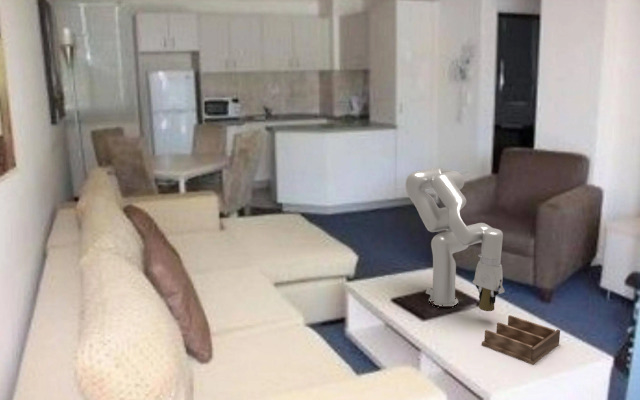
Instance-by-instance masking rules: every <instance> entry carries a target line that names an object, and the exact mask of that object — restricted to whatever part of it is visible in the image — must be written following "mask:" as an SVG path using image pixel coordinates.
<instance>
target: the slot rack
mask: <svg viewBox="0 0 640 400" xmlns="http://www.w3.org/2000/svg"><path fill="white" fill-rule="evenodd" d="M507 317H508V318H507V324H504V323H502V322H496V332H494V331H491V330H489V329H485V330H484V339H483V341H481V346H482V347H485V348H488V349H491V350H494V351H496V352H499V353H501V354H504V355H507V356H509V357H512V358H514V359H518V360H520V361H522V362H525V363H528V364H531V365H535V364H536V363H537V362H538V361H540V360H541V359H542V358H543V357H545V356H547V354H549V353H550V352H551V351H553V350H554V349H555V348H557V347H558V346H559V345H560V337H561V330H560V329H553V328H551V327H547V326H544V325H541V324H538V323H536V322H532V321H529V320H527V319H526V320H525V319H523V318H519V317H518V316H517V317H516V316H513V315H508V316H507Z"/></svg>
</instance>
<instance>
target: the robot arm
mask: <svg viewBox="0 0 640 400" xmlns="http://www.w3.org/2000/svg"><path fill="white" fill-rule="evenodd" d="M464 186H465V179H464V176H463V175H462V174H461V173H460V172H459V171H456V170H452V169H446V168H440V167H432V168H427V169H421V170H418V171H413V172H411V173H410V174H409V175H408V176H407V178H406V180H405V190H406V193H407V196H408V198H409V199H410V200H411V202H412V204H413V206H415V208H416V210H417V212H418V215H419V217H420V219H421V221H422V223H423V224H424V226H425V228H426V230H427V231H428V232H430V233H435V232H436V233H437V232H440V233H438V234H436V235H434V236H433V238H432V239H431V242H430V246H431V252H432V287H431V288H430V287H427V288H426V291H425V294H427V295H429V297H428V302H429V301H430V302H431V301H434V302H433V303H434V304H435V305H439V306H442V305H443V306H454V305H456V304H457V303H458V304H459V299H458V298H457V297H456V278H457V277H456V275H457V271H456V269H457V264H456V263H457V262H456V260H455V258H454V257H453V256H454V255H453V254H455V253H459V252H463V251H465V250H467V249H468V248H469V246H472V245H475V244H479V243H481V249H480V250H481V251H480V253H478V255H477V257H478V258H479V260H478V262H477V264H476V268H475V273H474V277H473V278H474V279H473V280H472V284H474V286H475V287H476V289H477V292H478V299H479V300H478V301H479V303H480V300H481V296H482V291H483V289H482V287H483V288H486V289H488V290H491V296H490V305H491V301H492V304H494V305H495V303H496V297H497V296H498V295H499V294H503V293H505V288H504V287H503V278H504V277H503V266H502V264H501V260H502V251H503V250H502V248H503V238H504V233H503V231H502V230H500V229H498V228H496V227H495V228H494V227H492V226H490V225H489V224H486V223H485V222H478V223H475V224H474V223H473V224H469V225H466V223H465V222H464V221H463V219H462V217H461V214H460V213H461V210H462V209H463V208H464V207H465V206H466V204H467V198H466V197H465V195H464V194H463V193H462V191H461V190H462V189H463V187H464ZM430 189H432V190H433V191H434V193H436V195H437V196H438V198H439V199H440V201H441V202H442V204H443V205H444V206H445V207H441V208H440V207H439V206H438V205H437V203H436V201H435V199H434V198H433V196H431V195H430V194H429V193H428V192H426V190H430ZM441 231H443V232H441ZM455 298H456V299H455ZM430 299H431V300H430Z"/></svg>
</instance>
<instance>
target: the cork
mask: <svg viewBox="0 0 640 400" xmlns="http://www.w3.org/2000/svg"><path fill="white" fill-rule="evenodd" d="M482 289H483V291H482V296H481V300H480V302H479V305H478V309H480V310H481V311H484V312H493V311H494V310H495V303H494V304H492V301H491V305H490V296H491V290H488V289H486V288H483V287H482Z"/></svg>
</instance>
